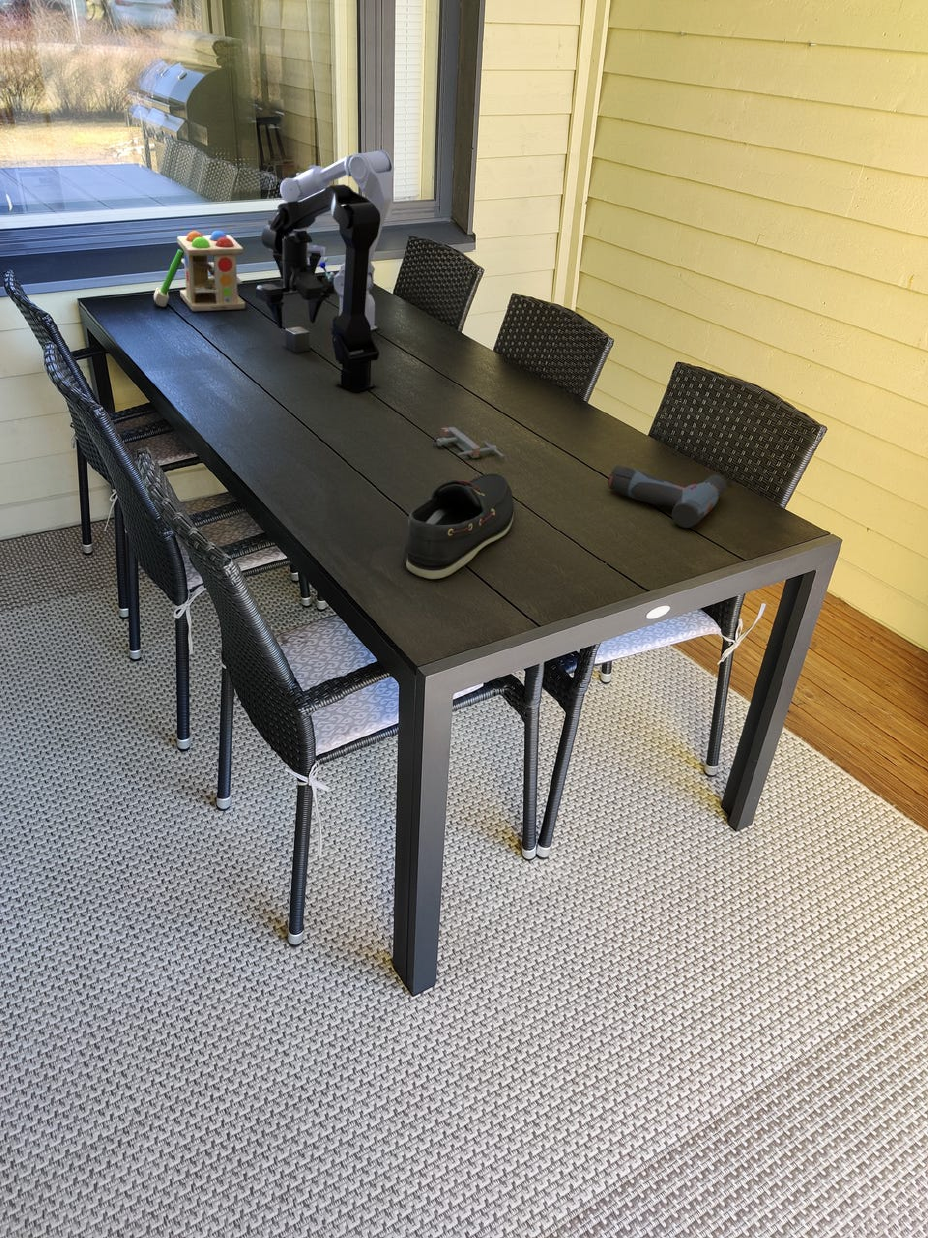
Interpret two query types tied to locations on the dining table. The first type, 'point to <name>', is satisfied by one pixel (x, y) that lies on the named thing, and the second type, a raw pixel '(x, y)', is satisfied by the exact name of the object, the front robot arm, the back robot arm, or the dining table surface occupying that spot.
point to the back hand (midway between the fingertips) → (297, 280)
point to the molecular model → (325, 269)
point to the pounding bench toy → (206, 273)
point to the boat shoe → (457, 524)
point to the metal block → (297, 339)
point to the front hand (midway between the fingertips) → (296, 325)
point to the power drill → (669, 493)
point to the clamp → (464, 443)
